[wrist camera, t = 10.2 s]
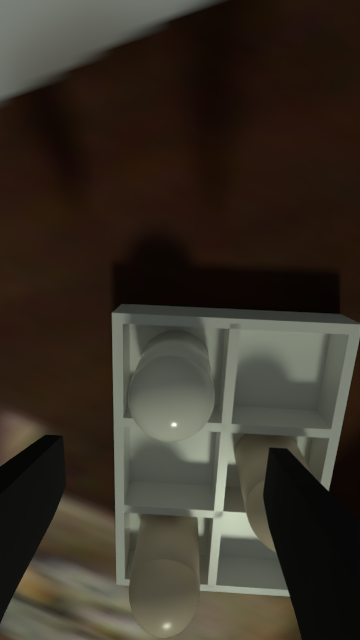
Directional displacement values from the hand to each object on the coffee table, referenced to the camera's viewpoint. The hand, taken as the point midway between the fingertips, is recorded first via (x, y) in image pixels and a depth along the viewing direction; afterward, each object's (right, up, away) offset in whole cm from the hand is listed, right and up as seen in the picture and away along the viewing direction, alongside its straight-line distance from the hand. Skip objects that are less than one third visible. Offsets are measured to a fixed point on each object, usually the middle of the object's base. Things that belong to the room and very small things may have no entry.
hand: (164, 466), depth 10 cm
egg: (0, +2, +9) cm, 10 cm away
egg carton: (+3, -4, +11) cm, 12 cm away
